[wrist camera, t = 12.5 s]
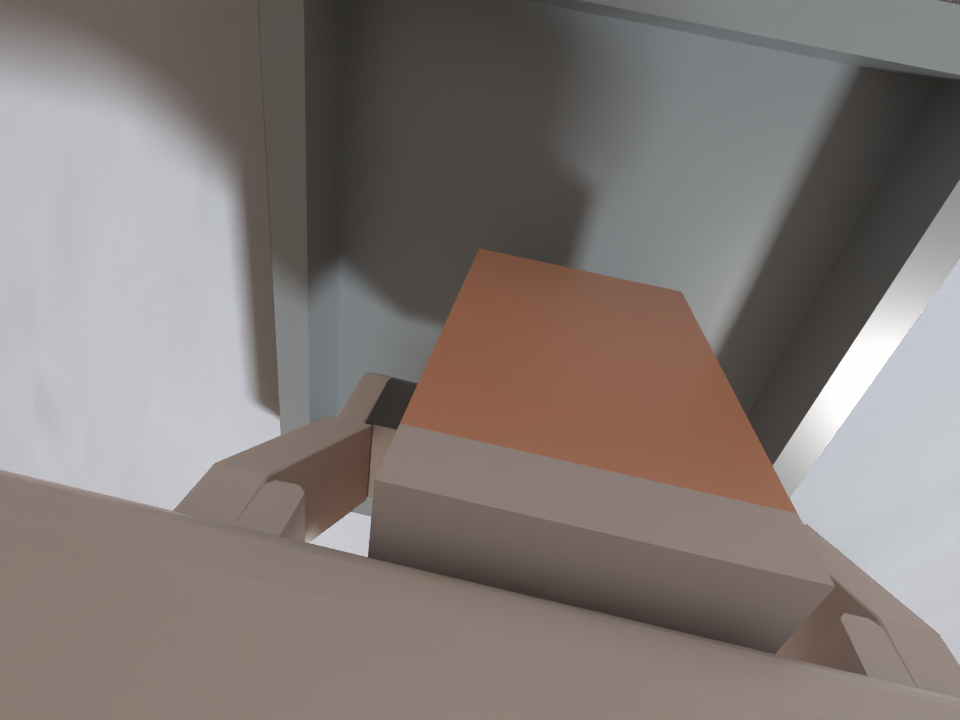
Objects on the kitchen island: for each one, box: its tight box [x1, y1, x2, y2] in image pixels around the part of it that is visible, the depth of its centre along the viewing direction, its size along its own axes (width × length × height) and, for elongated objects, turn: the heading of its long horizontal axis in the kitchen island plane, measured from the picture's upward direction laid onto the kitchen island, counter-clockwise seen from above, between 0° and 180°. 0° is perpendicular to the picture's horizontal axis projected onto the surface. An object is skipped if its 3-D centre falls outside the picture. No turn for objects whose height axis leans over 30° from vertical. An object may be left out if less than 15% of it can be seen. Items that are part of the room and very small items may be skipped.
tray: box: [258, 0, 960, 516], centre depth 15 cm, size 17×16×3 cm
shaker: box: [368, 248, 835, 654], centre depth 10 cm, size 5×5×8 cm
